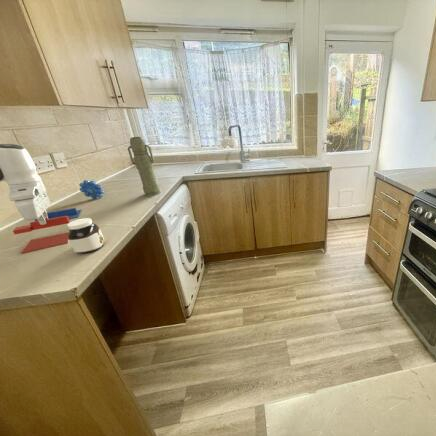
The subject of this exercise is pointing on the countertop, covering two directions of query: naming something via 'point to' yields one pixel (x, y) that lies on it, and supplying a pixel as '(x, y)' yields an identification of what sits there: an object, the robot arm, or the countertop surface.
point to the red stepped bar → (36, 225)
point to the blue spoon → (61, 213)
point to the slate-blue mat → (74, 215)
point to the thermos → (144, 165)
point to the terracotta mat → (46, 242)
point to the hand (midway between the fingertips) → (44, 222)
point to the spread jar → (85, 236)
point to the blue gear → (91, 189)
